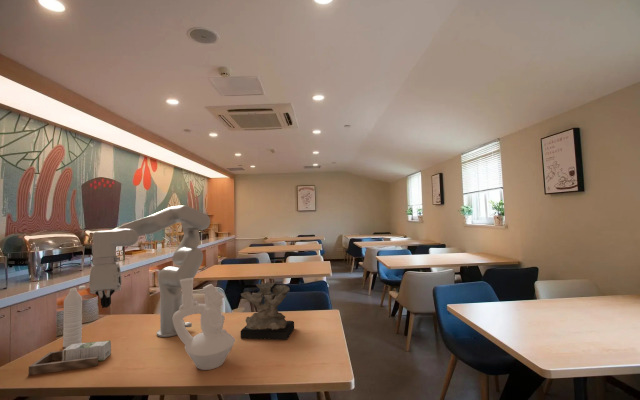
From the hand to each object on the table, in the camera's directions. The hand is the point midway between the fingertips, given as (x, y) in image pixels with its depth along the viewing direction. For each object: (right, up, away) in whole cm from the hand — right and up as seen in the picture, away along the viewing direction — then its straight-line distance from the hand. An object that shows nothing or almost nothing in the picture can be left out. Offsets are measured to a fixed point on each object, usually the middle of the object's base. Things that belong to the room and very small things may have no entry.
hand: (106, 306), depth 121 cm
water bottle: (-24, -22, +14) cm, 36 cm away
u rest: (-9, -20, -4) cm, 23 cm away
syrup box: (+1, -17, -1) cm, 17 cm away
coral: (+61, -20, +22) cm, 68 cm away
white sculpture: (+44, -18, -9) cm, 48 cm away
